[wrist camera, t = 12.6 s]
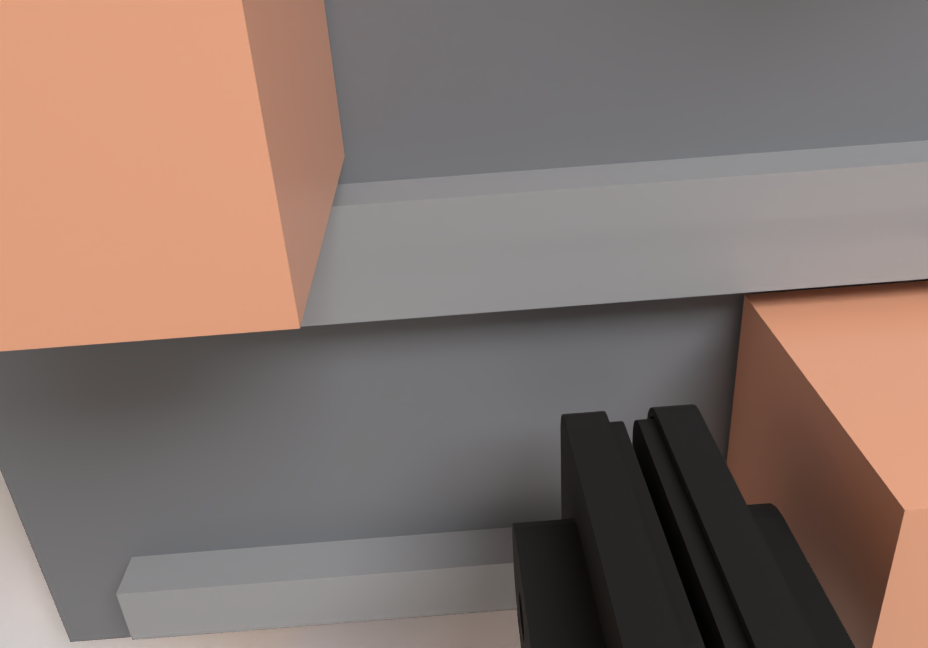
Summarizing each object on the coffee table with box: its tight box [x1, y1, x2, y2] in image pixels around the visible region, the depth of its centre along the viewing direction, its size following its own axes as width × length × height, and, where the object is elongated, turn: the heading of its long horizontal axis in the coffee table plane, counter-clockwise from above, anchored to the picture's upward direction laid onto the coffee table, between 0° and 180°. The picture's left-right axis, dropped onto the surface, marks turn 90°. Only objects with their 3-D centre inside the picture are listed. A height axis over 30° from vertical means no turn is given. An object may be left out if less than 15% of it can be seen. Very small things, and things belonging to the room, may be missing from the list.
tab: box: [0, 0, 345, 351], centre depth 8 cm, size 4×4×4 cm
